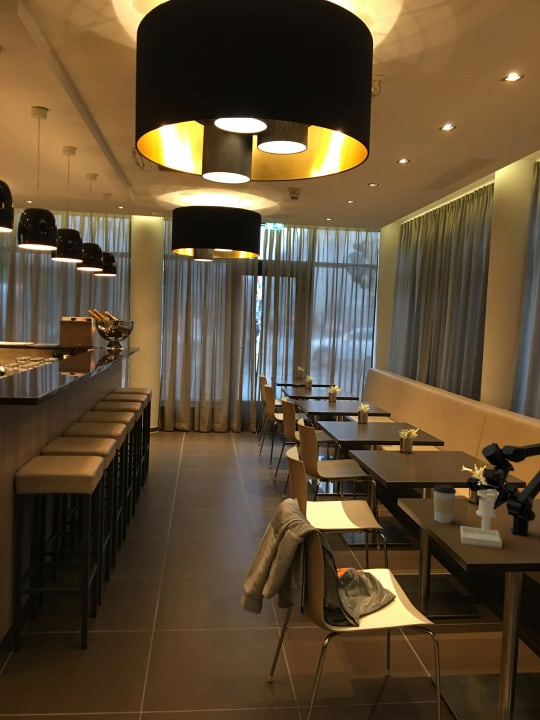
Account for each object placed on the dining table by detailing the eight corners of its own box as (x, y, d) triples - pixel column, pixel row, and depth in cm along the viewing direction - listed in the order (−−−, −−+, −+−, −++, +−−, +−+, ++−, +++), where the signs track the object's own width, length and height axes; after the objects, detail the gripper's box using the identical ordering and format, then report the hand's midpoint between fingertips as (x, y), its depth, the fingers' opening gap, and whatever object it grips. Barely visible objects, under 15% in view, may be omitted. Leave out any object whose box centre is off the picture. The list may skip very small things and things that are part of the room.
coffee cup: (456, 520, 241) (458, 484, 241) (451, 525, 234) (453, 488, 233) (434, 516, 246) (436, 480, 245) (429, 521, 238) (431, 484, 238)
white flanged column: (500, 532, 212) (502, 491, 212) (483, 533, 211) (485, 492, 210) (488, 526, 219) (490, 486, 219) (471, 527, 217) (473, 487, 217)
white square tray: (460, 532, 225) (460, 525, 225) (497, 537, 222) (497, 530, 222) (461, 543, 212) (462, 536, 212) (501, 548, 209) (501, 541, 208)
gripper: (470, 456, 223) (454, 488, 216) (518, 464, 210) (504, 500, 203) (478, 473, 229) (463, 506, 222) (526, 483, 216) (512, 518, 209)
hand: (485, 507), depth 214 cm, fingers closed on white flanged column, 6 cm apart
